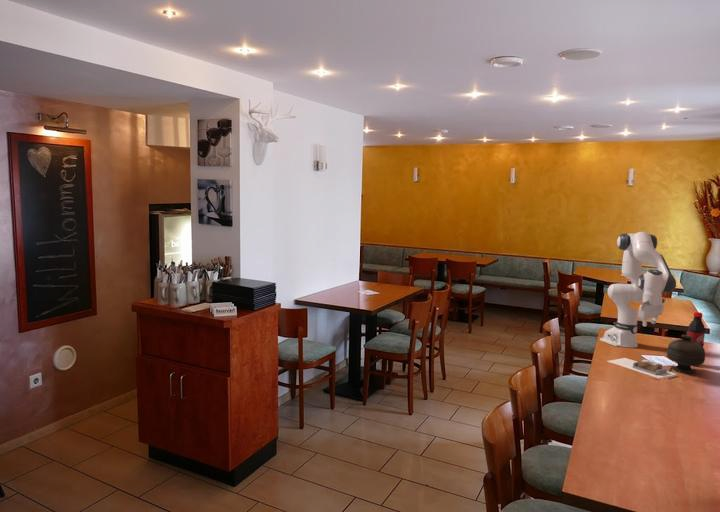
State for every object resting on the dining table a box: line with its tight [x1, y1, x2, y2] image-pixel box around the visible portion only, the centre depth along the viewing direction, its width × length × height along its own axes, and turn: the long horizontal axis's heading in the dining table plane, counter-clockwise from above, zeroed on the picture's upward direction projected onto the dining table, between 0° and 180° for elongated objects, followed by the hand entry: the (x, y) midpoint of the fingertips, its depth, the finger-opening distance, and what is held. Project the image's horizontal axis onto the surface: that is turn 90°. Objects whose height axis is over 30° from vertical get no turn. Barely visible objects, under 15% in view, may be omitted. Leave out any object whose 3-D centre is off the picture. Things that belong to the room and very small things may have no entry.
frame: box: [637, 359, 663, 373], centre depth 282 cm, size 10×6×4 cm, turn 36°
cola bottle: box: [686, 311, 706, 367], centre depth 297 cm, size 8×8×30 cm
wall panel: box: [607, 357, 678, 381], centre depth 286 cm, size 30×16×4 cm, turn 28°
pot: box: [666, 334, 706, 375], centre depth 286 cm, size 18×18×20 cm
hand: (649, 324), depth 288 cm, fingers open, 8 cm apart
